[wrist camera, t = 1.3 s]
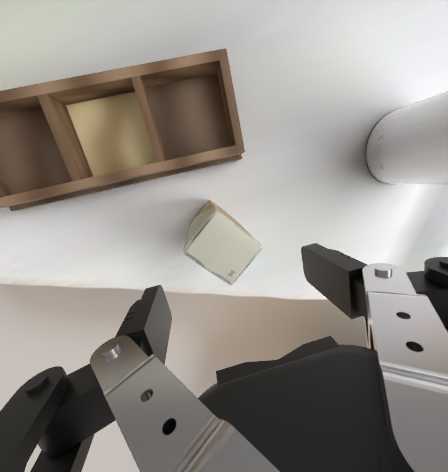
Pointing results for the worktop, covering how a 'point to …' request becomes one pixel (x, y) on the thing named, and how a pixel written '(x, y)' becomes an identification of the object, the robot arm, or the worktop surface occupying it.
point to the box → (220, 243)
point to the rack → (116, 128)
